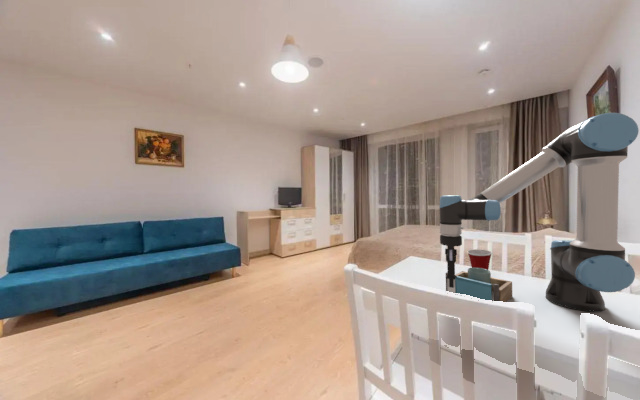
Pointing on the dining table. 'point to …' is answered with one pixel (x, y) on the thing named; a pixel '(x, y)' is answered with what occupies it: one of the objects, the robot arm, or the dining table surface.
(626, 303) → the dining table surface
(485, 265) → the plastic cup
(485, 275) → the cup
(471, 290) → the blue flat rectangular panel
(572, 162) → the robot arm
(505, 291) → the wooden u-shaped tray
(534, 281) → the dining table surface
